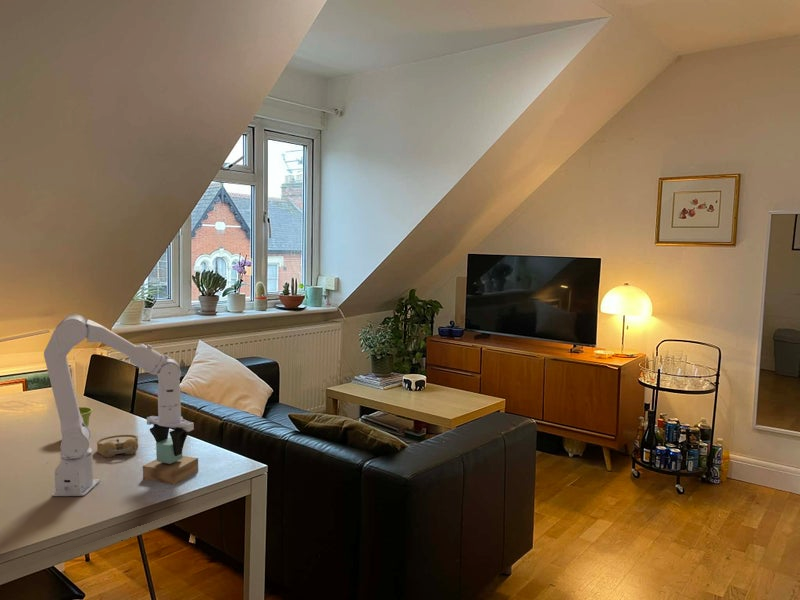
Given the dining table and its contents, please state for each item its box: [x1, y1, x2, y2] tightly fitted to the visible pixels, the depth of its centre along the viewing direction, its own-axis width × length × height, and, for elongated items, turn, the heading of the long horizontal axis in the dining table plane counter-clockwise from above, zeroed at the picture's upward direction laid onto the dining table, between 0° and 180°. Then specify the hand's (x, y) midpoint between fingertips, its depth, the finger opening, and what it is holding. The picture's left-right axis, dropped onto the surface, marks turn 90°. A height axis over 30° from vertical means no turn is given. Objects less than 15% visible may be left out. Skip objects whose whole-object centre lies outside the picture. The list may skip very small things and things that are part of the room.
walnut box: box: [142, 455, 199, 485], centre depth 167 cm, size 10×10×4 cm
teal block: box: [155, 437, 183, 464], centre depth 166 cm, size 5×5×5 cm
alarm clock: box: [96, 434, 139, 459], centre depth 184 cm, size 11×5×15 cm
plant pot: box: [79, 406, 93, 428], centre depth 196 cm, size 9×9×9 cm
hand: (170, 453), depth 166 cm, fingers closed on teal block, 4 cm apart
